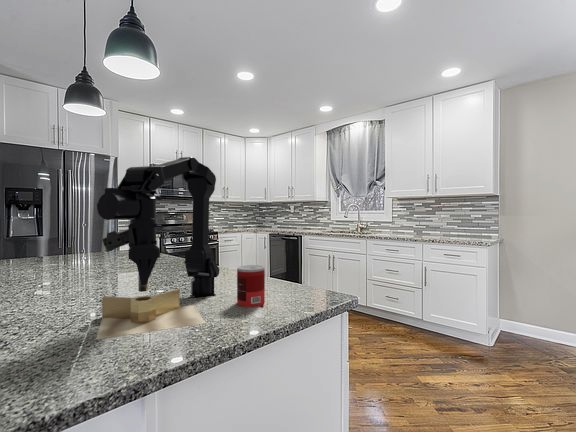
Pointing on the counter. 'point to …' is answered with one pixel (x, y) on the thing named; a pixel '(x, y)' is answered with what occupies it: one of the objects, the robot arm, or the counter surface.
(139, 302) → the spoked octagonal hub
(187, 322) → the mounting board
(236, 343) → the counter surface
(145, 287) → the pin
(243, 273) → the canned food
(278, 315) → the counter surface
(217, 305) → the counter surface
